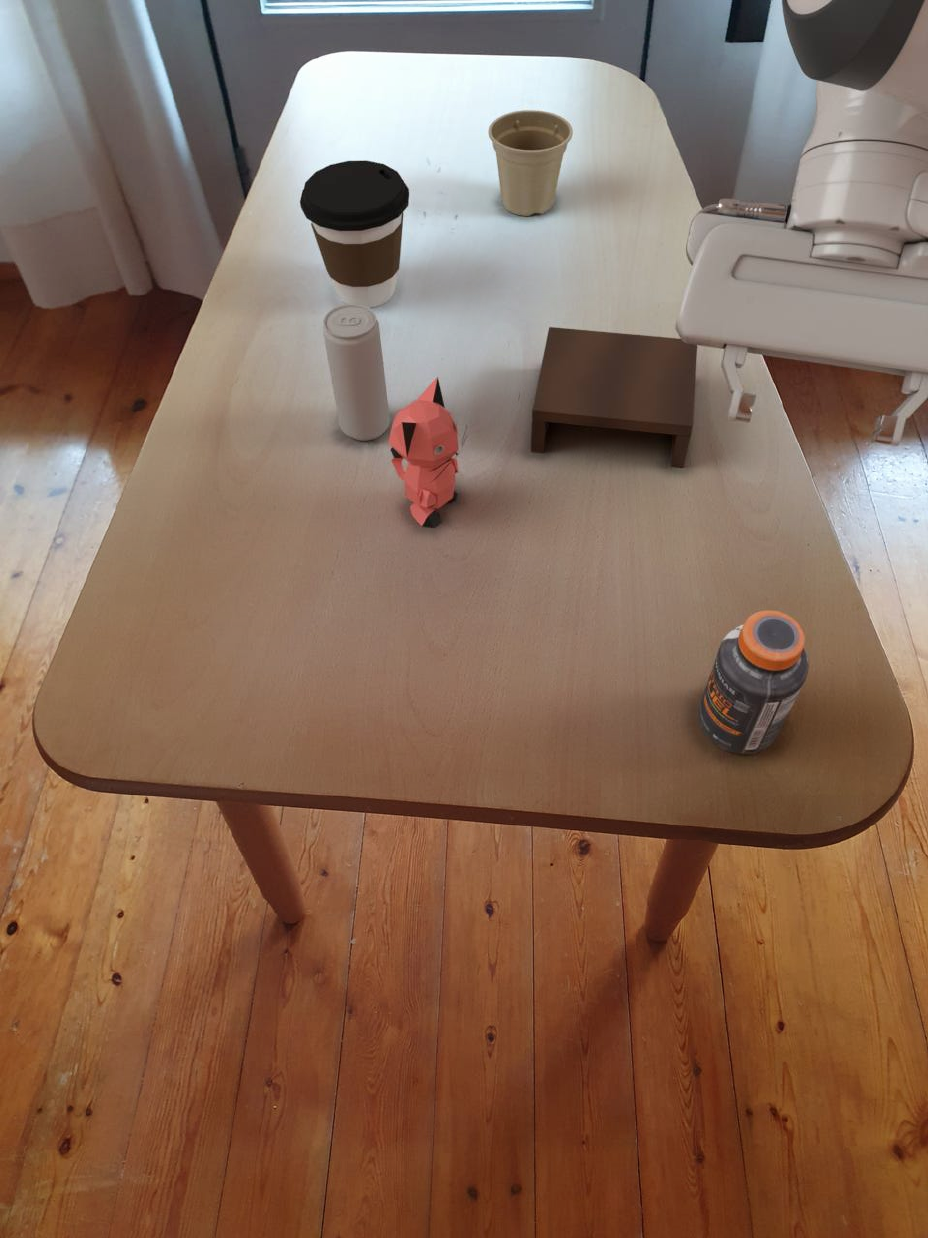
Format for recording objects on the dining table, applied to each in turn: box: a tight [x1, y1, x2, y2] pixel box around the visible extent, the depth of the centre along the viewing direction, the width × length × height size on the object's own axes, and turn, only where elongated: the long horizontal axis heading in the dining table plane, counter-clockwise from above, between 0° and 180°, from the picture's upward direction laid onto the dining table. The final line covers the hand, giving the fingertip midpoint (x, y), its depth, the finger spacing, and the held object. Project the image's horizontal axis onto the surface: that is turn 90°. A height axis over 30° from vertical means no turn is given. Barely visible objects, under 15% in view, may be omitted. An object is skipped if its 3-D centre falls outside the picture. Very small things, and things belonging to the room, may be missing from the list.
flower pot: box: [488, 109, 574, 217], centre depth 109 cm, size 9×9×9 cm
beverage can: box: [322, 303, 391, 442], centre depth 85 cm, size 5×5×12 cm
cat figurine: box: [388, 376, 468, 529], centre depth 79 cm, size 7×7×12 cm
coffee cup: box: [299, 159, 410, 309], centre depth 98 cm, size 11×11×12 cm
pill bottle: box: [697, 609, 810, 755], centre depth 65 cm, size 6×6×11 cm
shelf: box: [530, 326, 698, 469], centre depth 88 cm, size 14×12×5 cm
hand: (810, 432), depth 62 cm, fingers open, 8 cm apart
